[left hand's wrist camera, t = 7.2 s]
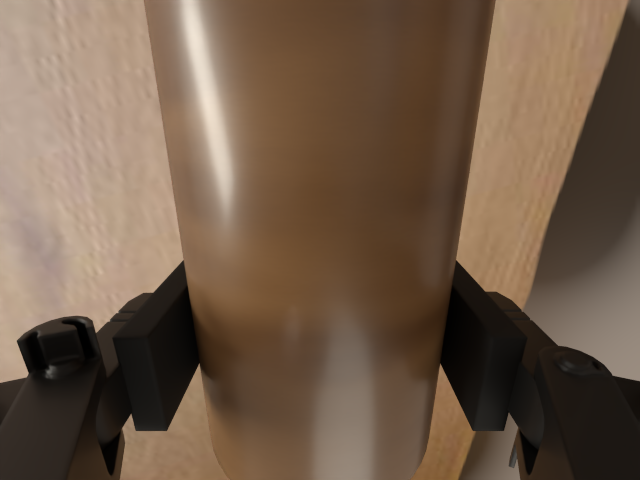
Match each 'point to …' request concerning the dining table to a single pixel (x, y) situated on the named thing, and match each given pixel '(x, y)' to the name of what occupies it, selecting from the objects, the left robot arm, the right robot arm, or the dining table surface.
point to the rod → (319, 218)
